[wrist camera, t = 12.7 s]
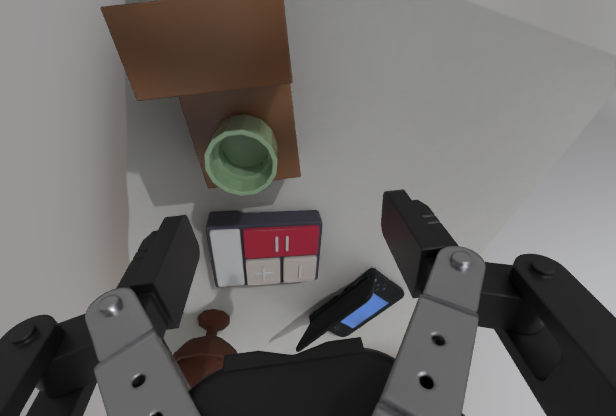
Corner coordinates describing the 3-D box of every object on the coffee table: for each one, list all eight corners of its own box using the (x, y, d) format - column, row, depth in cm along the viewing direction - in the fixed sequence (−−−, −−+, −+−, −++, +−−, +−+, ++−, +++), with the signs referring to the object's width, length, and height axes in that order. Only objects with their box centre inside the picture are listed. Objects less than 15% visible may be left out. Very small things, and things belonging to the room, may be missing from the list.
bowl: (206, 116, 28) (194, 135, 23) (272, 109, 28) (271, 126, 24) (222, 174, 31) (214, 199, 27) (281, 167, 31) (282, 190, 27)
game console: (342, 332, 58) (352, 380, 51) (289, 304, 52) (292, 354, 45) (405, 289, 53) (427, 334, 45) (355, 252, 47) (371, 298, 40)
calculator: (318, 284, 45) (215, 292, 42) (313, 264, 48) (218, 270, 46) (324, 225, 39) (204, 231, 36) (318, 207, 42) (208, 211, 40)
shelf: (172, 9, 28) (99, 7, 16) (278, -3, 28) (282, -13, 16) (216, 164, 37) (190, 235, 25) (297, 154, 37) (308, 220, 25)
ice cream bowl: (245, 298, 50) (235, 392, 38) (244, 338, 56) (236, 431, 44) (179, 298, 49) (146, 396, 36) (185, 339, 55) (159, 435, 42)
